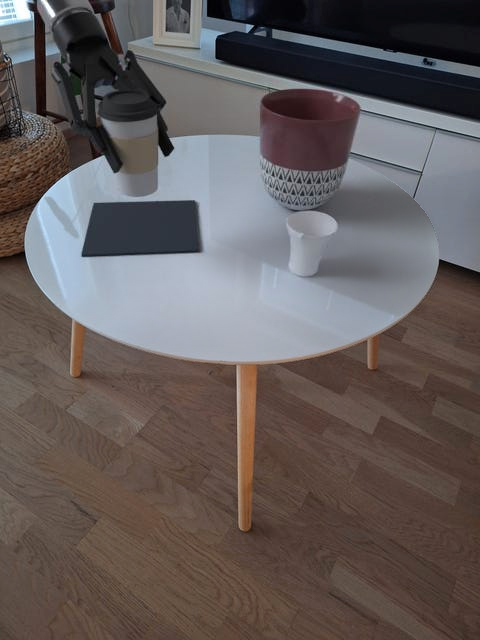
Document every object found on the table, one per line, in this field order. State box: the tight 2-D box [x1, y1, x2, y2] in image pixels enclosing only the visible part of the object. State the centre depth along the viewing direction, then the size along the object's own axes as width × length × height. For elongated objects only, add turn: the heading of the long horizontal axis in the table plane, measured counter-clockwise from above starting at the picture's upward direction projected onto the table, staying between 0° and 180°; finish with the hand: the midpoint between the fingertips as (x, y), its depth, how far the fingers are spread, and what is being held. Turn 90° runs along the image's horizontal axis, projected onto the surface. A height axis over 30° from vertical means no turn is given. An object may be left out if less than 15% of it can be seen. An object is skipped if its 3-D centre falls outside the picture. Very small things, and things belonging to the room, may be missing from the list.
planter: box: [259, 88, 362, 211], centre depth 97 cm, size 20×20×21 cm
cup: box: [285, 210, 339, 278], centre depth 82 cm, size 9×9×10 cm
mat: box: [80, 199, 201, 258], centre depth 95 cm, size 22×20×1 cm
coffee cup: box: [97, 88, 159, 198], centre depth 74 cm, size 9×9×15 cm
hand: (144, 160), depth 74 cm, fingers closed on coffee cup, 9 cm apart
